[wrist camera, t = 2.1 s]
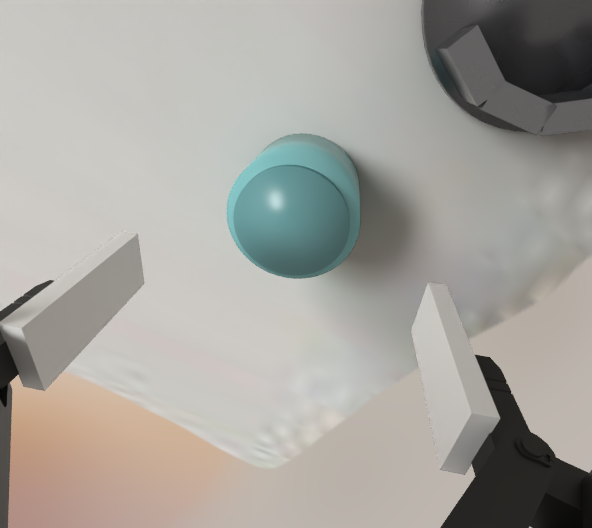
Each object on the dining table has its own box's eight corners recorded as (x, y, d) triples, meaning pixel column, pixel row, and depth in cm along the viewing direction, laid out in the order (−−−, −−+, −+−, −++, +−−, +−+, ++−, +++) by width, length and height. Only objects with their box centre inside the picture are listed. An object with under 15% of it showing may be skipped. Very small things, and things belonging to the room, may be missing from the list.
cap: (251, 126, 24) (222, 146, 19) (370, 142, 23) (373, 167, 18) (247, 232, 28) (223, 272, 23) (348, 248, 28) (347, 292, 23)
